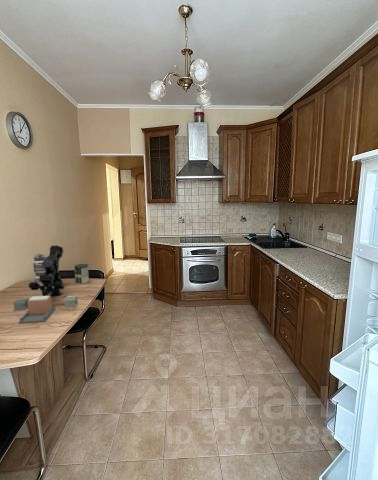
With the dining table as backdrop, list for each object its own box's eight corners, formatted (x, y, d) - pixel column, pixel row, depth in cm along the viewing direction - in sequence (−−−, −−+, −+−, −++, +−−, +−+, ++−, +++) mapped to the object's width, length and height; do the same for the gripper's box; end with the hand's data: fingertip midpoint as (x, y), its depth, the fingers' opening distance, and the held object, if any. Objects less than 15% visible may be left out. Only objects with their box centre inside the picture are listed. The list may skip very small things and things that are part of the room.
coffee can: (74, 285, 194) (73, 267, 192) (75, 281, 204) (74, 264, 202) (88, 283, 198) (88, 266, 196) (89, 279, 207) (88, 263, 205)
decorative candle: (51, 284, 196) (48, 253, 192) (44, 288, 187) (42, 255, 183) (39, 284, 195) (36, 253, 192) (32, 288, 186) (29, 255, 183)
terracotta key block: (33, 310, 146) (31, 296, 144) (51, 309, 147) (50, 295, 146) (28, 314, 140) (27, 300, 138) (47, 313, 142) (46, 299, 140)
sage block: (67, 303, 159) (67, 296, 158) (77, 303, 160) (77, 295, 159) (64, 307, 153) (64, 299, 152) (74, 307, 154) (74, 299, 153)
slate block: (19, 306, 154) (18, 299, 153) (29, 306, 155) (29, 298, 154) (14, 310, 148) (13, 302, 147) (25, 310, 149) (24, 302, 148)
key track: (31, 311, 147) (31, 307, 147) (55, 309, 150) (55, 305, 149) (18, 323, 132) (18, 319, 131) (45, 321, 134) (45, 317, 134)
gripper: (28, 269, 150) (21, 293, 141) (61, 268, 154) (56, 291, 144) (35, 278, 159) (28, 301, 150) (66, 277, 162) (62, 299, 153)
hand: (43, 298), depth 149 cm, fingers closed
